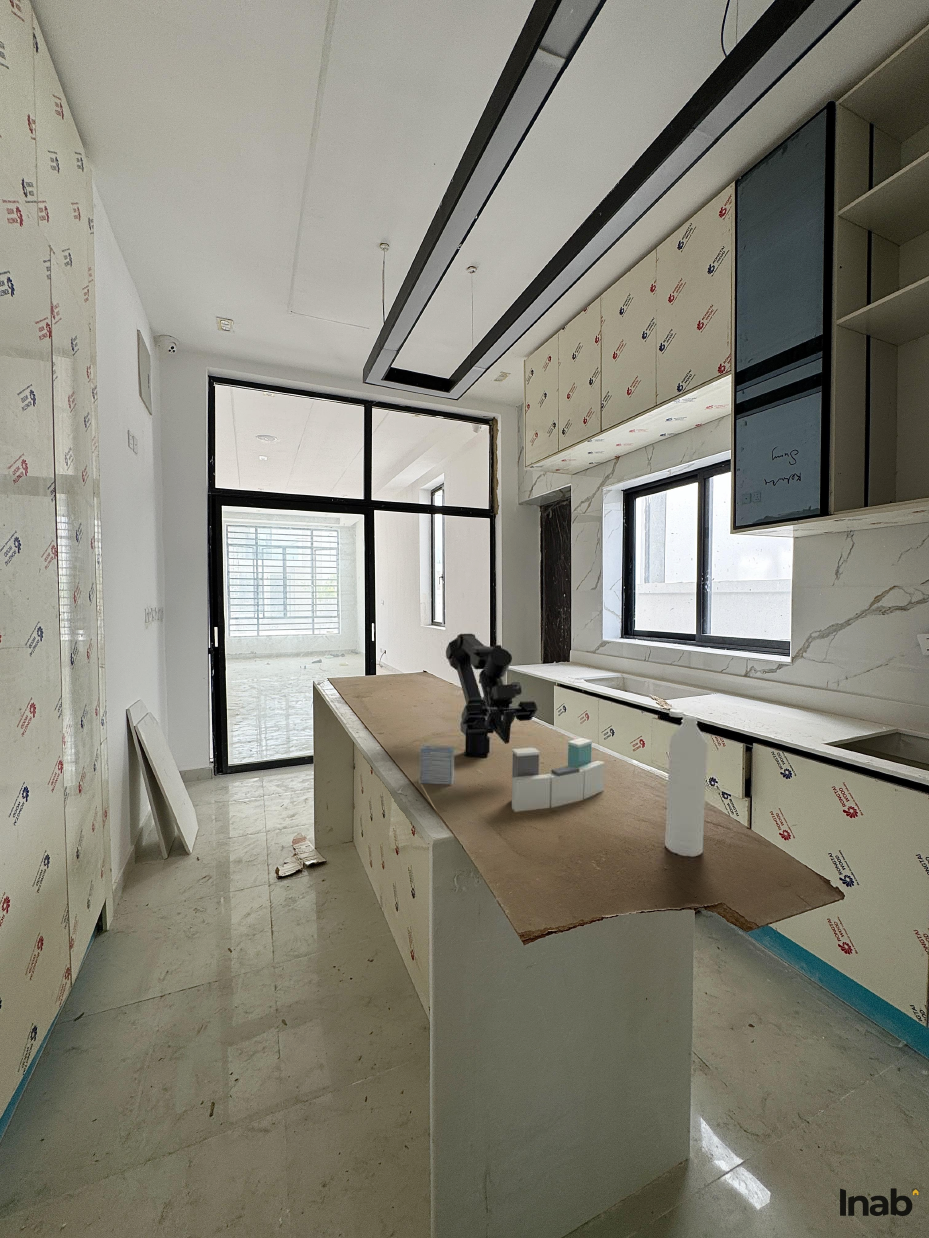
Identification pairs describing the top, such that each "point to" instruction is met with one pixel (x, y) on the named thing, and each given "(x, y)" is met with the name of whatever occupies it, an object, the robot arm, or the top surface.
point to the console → (557, 787)
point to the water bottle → (686, 788)
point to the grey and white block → (525, 762)
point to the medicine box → (437, 764)
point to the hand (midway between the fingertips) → (507, 742)
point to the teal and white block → (579, 752)
